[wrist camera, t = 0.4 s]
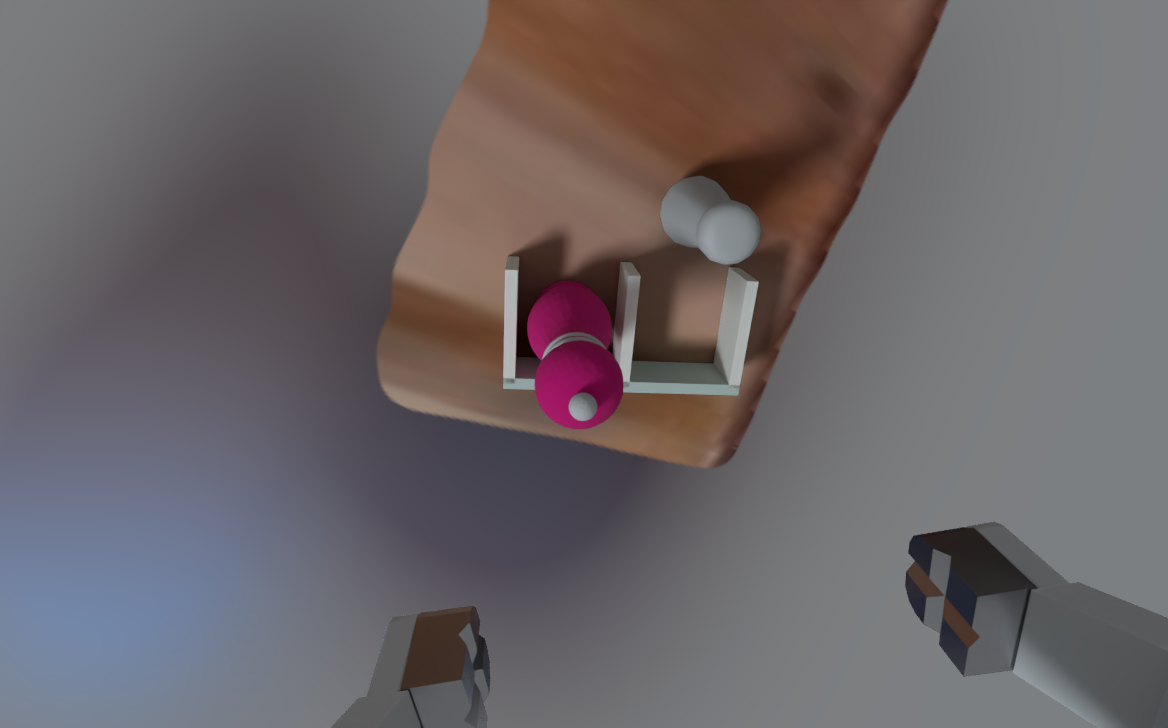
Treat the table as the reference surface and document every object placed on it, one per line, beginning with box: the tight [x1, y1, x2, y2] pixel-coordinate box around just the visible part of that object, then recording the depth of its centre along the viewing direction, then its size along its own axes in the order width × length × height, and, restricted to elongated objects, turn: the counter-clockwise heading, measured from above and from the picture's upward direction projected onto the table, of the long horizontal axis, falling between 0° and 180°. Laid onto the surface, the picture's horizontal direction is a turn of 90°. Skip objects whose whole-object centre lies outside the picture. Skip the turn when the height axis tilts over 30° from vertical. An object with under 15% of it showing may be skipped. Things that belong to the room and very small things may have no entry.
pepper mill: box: [527, 280, 624, 429], centre depth 45 cm, size 7×7×20 cm
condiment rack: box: [503, 256, 759, 395], centre depth 53 cm, size 10×21×5 cm, turn 86°
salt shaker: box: [660, 176, 761, 265], centre depth 46 cm, size 6×6×13 cm
